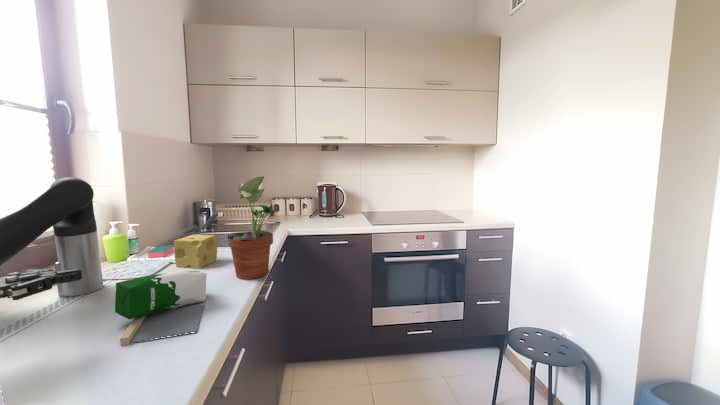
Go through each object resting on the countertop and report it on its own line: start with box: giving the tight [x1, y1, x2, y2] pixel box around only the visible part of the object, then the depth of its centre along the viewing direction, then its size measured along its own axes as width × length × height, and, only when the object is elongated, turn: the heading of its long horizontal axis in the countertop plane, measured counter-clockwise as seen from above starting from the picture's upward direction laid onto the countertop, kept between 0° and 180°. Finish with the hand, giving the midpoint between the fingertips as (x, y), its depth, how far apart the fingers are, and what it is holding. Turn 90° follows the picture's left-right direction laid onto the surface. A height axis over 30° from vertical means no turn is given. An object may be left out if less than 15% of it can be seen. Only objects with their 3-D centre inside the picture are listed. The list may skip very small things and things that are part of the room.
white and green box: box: [114, 268, 207, 320], centre depth 81 cm, size 9×9×20 cm
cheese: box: [173, 234, 218, 269], centre depth 118 cm, size 10×11×10 cm
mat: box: [119, 304, 205, 346], centre depth 74 cm, size 14×14×2 cm
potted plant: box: [227, 176, 275, 281], centre depth 105 cm, size 16×15×35 cm
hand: (81, 273), depth 67 cm, fingers closed
